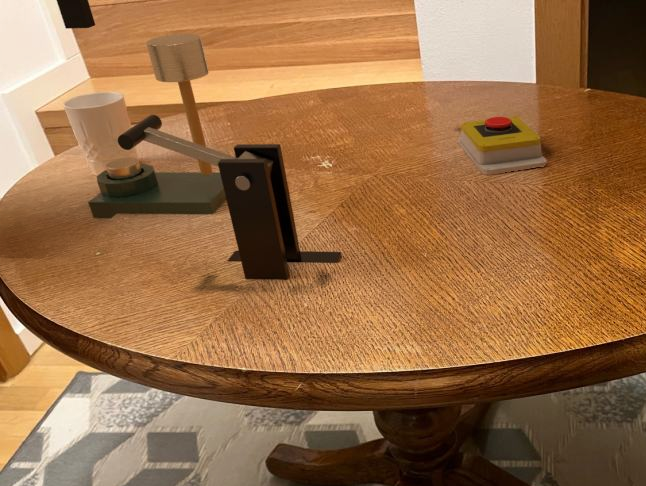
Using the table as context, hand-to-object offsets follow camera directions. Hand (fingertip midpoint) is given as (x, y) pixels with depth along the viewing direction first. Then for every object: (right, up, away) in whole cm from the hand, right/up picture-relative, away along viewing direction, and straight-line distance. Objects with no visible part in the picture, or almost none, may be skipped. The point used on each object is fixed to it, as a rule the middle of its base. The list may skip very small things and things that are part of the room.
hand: (80, 26), depth 81 cm
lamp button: (-1, -14, +13) cm, 19 cm away
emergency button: (+48, -8, +24) cm, 54 cm away
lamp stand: (+10, -14, +11) cm, 20 cm away
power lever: (+17, -18, -11) cm, 27 cm away
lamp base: (+4, -17, +14) cm, 22 cm away
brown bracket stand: (+23, -29, -4) cm, 37 cm away
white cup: (-8, -10, +26) cm, 29 cm away
